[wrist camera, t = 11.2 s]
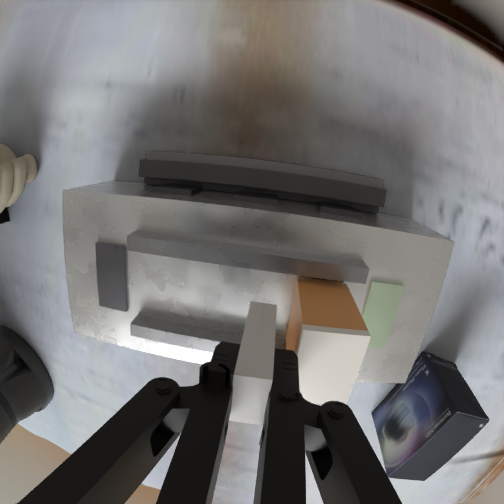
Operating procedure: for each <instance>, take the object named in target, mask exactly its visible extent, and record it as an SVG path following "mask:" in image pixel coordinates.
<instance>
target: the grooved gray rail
mask: <svg viewBox="0 0 504 504" xmlns="http://www.w3.org/2000/svg"><path fill="white" fill-rule="evenodd" d="M139 176H141V177H145V179H144V184H151V185H161V184H165V183H171V184H182V185H193V186H202V189H205V190H215V191H224V192H233V193H237V192H238V191H248V192H256V193H264V194H271V195H278V198H280V199H288V200H295V201H302V202H308V203H315V204H316V201H320V202H327V203H333V204H339V205H345V206H351V207H354V208H356V209H357V210H359V211H364V212H370V213H375V214H378V209H379V207H384V201H385V196H386V190H384V189H382V185H383V180H381V179H377V178H372V177H367V176H362V175H356V174H351V173H346V172H340V171H334V170H328V169H322V168H316V167H310V166H303V165H296V164H289V163H282V162H274V161H266V160H258V159H249V158H240V157H230V156H219V155H207V154H195V153H180V152H162V151H147V153H146V159H145V160H140V168H139Z"/></svg>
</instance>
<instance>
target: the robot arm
mask: <svg viewBox="0 0 504 504" xmlns="http://www.w3.org/2000/svg"><path fill="white" fill-rule="evenodd" d="M276 315H277V305H275V304H268V303H260V302H253V301H251V302H250V306H249V311H248V315H247V319H246V324H245V328H244V332H243V337H242V341H241V344H236V343H230V342H224V341H222V342H220V343H219V344H218V345H217V346H216V347H215V350H214V352H213V355H212V358H211V361H209V362H206V363H204V364H202V366H201V367H200V376H199V384H197V385H194V386H188V387H179V385H178V384H177V382H176V381H174V380H172V379H170V378H166V377H159V378H155V379H152V380H151V381H149V382H148V383H147V384H146V385H145V386H144V387H143V388H142V389H141V390H140V391H139V392H138V393H137V394H136V395H135V396H134V397H133V398H131V399H130V400H129V401H128V402H127V403H126V404H125V405H124V406H123V407H122V408H121V409H120V410H119V411H118V412H117V413H116V414H115V415H114V416H113V417H111V418H110V419H109V420H108V421H107V422H106V423H105V424H104V425H103V426H102V427H101V428H100V429H99V430H98V431H97V432H95V433H94V434H93V435H92V436H91V437H90V438H89V439H88V440H87V441H86V442H85V443H84V444H83V445H81V446H80V447H79V448H78V449H77V450H76V451H75V452H74V453H73V454H72V455H71V456H70V457H69V458H67V459H66V460H65V461H64V462H63V463H62V464H61V465H60V466H59V467H58V468H56V469H55V470H54V471H53V472H52V473H51V474H50V475H49V476H48V477H47V478H45V479H44V480H43V481H42V482H41V483H40V484H39V485H38V486H37V487H35V488H34V489H33V490H32V491H31V492H30V493H29V494H28V495H26V496H25V497H24V498H23V499H22V500H21V501H20V502H19V503H17V504H124V503H125V502H126V501H127V500H128V498H129V497H130V496H131V495H132V494H133V492H134V491H135V490H136V489H137V488H138V486H139V485H140V484H141V483H142V482H143V480H144V479H145V478H146V477H147V475H148V474H149V473H150V472H151V470H152V469H153V468H154V467H155V465H156V464H157V463H158V462H159V460H160V459H161V458H162V457H163V455H164V454H165V453H166V451H167V450H168V449H169V448H170V446H171V445H172V444H173V442H174V441H175V440H176V439H177V437H178V436H179V435H180V432H182V433H181V435H180V438H179V441H178V444H177V446H176V449H175V452H174V455H173V458H172V460H171V463H170V466H169V469H168V472H167V474H166V477H165V480H164V483H163V486H162V488H161V491H160V494H159V497H158V500H157V502H156V504H211V503H212V499H213V494H214V490H215V485H216V481H217V476H218V472H219V467H220V462H221V458H222V453H223V449H224V444H225V439H226V435H227V430H228V422H229V421H235V422H242V423H249V424H256V425H263V429H262V434H261V438H260V443H259V445H260V452H259V461H258V470H257V478H256V487H255V495H254V503H253V504H306V472H305V451H306V455H307V458H308V461H309V464H310V466H311V469H312V472H313V475H314V478H315V480H316V483H317V486H318V489H319V492H320V495H321V497H322V500H323V503H324V504H402V502H401V501H400V499H399V497H398V495H397V493H396V491H395V489H394V487H393V486H392V484H391V482H390V480H389V478H388V476H387V474H386V473H385V471H384V469H383V467H382V465H381V463H380V461H379V460H378V458H377V456H376V454H375V452H374V450H373V449H372V447H371V445H370V443H369V441H368V439H367V437H366V436H365V434H364V432H363V430H362V428H361V426H360V425H359V423H358V421H357V419H356V417H355V415H354V414H353V412H352V410H351V409H350V408H349V406H348V405H346V404H344V403H342V402H339V401H328V402H325V403H324V404H323V405H322V406H319V405H316V404H313V403H310V402H308V401H307V400H305V399H304V398H303V396H302V394H301V393H300V388H299V371H298V370H299V366H298V356H297V355H296V353H295V352H294V351H293V350H285V349H277V348H275V333H276ZM53 393H54V392H53V385H52V382H51V379H50V377H49V375H48V372H47V370H46V369H45V367H44V365H43V364H42V362H41V360H40V359H39V358H38V356H37V355H36V353H35V352H34V351H33V350H32V348H31V347H30V346H29V345H28V344H27V343H26V342H25V341H24V340H23V339H22V338H21V337H20V336H19V335H17V334H16V333H15V332H13V331H12V330H10V329H9V328H6V327H4V326H0V444H1V442H2V441H3V440H4V439H5V437H6V436H7V435H8V434H9V433H10V431H11V430H12V429H13V428H14V426H15V425H16V424H17V423H18V422H19V421H21V420H23V419H25V418H27V417H28V416H30V415H32V414H33V413H34V412H38V411H41V410H43V409H44V408H45V407H46V406H47V405H48V404H49V403H50V401H51V400H52V398H53Z"/></svg>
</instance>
